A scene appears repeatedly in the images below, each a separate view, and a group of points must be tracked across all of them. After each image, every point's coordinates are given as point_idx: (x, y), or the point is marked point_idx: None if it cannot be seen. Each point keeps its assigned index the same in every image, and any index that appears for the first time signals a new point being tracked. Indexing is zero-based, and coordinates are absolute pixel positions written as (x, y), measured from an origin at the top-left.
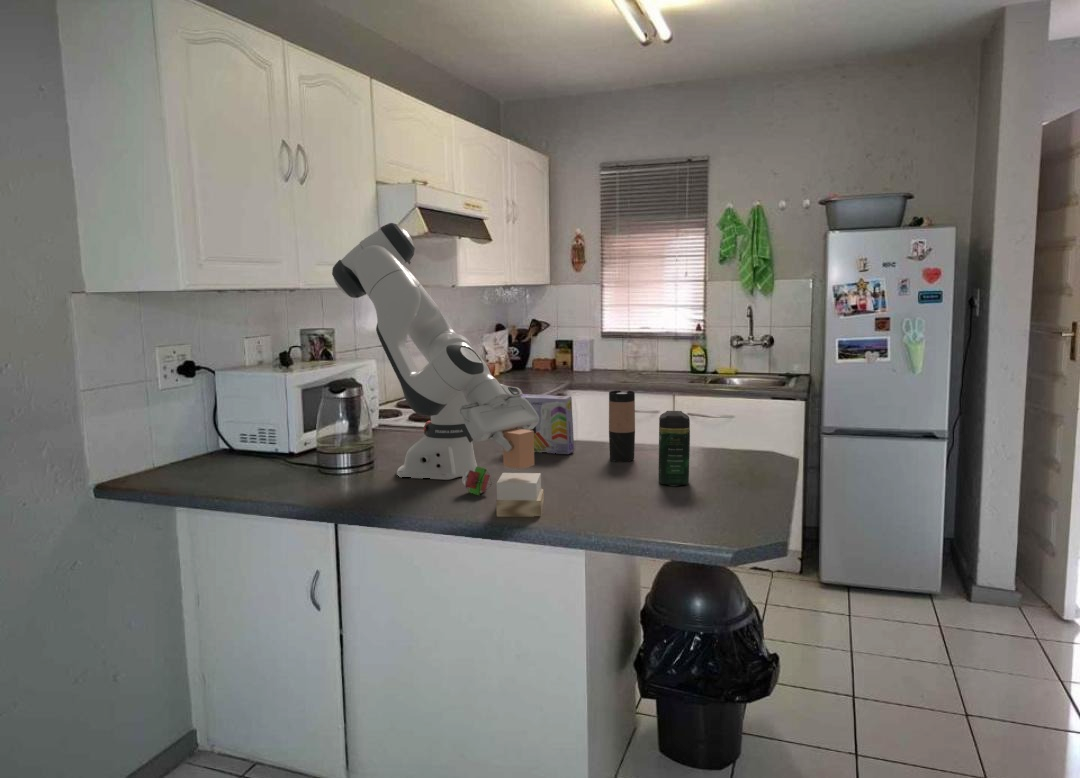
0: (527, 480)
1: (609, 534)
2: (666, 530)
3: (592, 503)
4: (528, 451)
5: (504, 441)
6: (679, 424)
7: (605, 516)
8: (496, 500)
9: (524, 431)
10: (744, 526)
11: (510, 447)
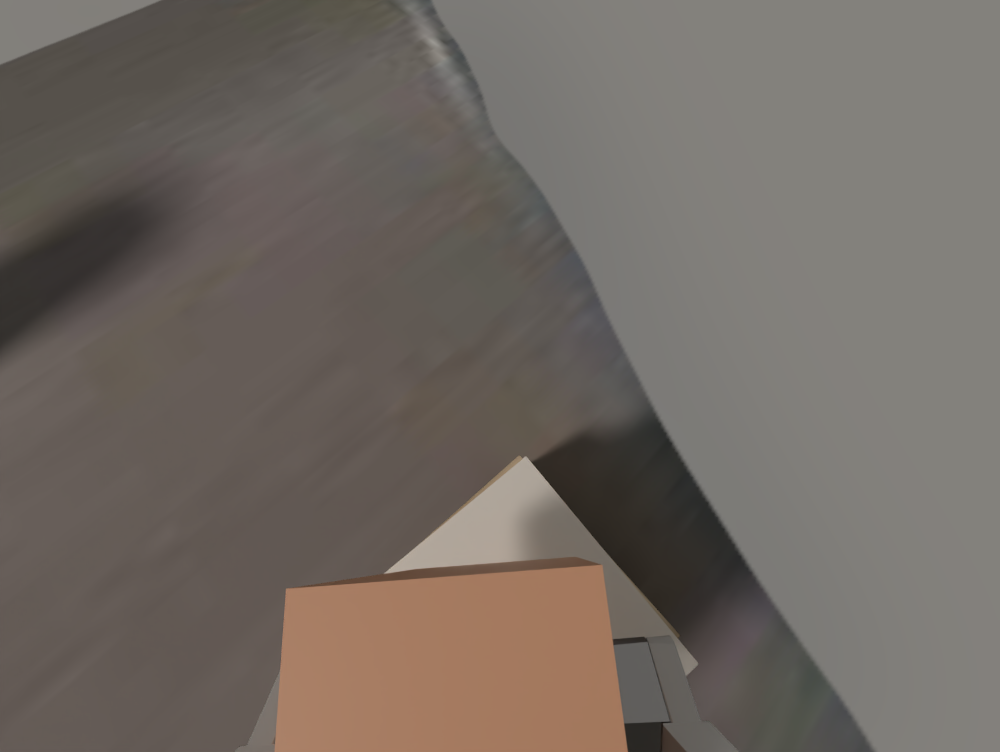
0: (517, 543)
1: (505, 184)
2: (373, 114)
3: (261, 437)
4: (457, 568)
5: (722, 748)
6: None
7: (368, 300)
8: (679, 636)
9: (398, 671)
10: (233, 30)
11: (665, 636)
